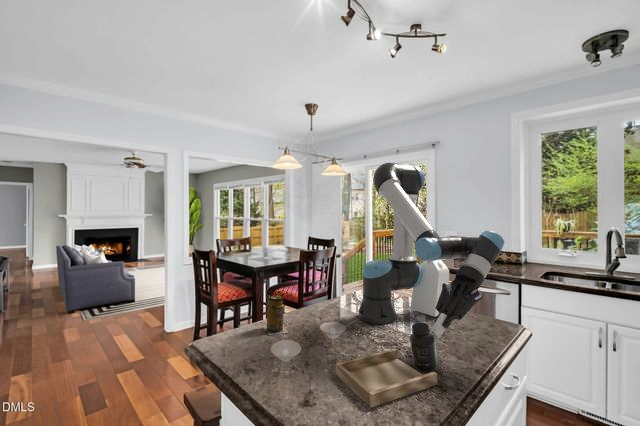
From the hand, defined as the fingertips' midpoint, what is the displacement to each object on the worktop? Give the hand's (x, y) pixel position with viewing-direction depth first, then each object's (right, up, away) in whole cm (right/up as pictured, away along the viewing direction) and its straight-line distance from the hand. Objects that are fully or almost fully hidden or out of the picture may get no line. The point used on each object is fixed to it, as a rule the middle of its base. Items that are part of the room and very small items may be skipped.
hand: (434, 334), depth 90 cm
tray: (-15, -9, -6) cm, 19 cm away
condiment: (-50, -9, +26) cm, 57 cm away
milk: (+15, -8, +49) cm, 52 cm away
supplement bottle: (-3, -9, 0) cm, 9 cm away
